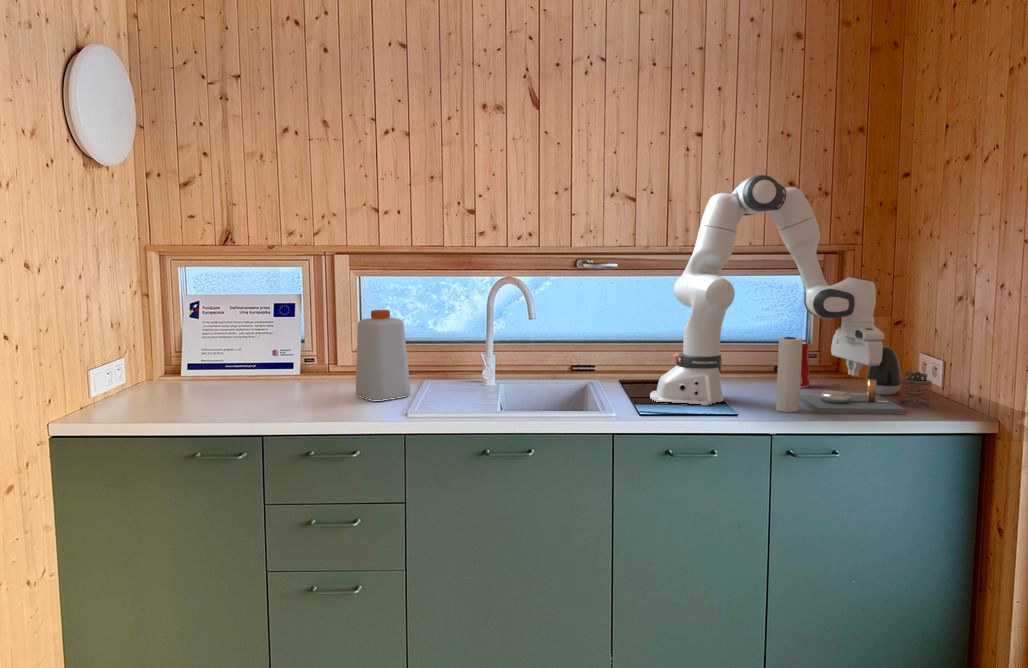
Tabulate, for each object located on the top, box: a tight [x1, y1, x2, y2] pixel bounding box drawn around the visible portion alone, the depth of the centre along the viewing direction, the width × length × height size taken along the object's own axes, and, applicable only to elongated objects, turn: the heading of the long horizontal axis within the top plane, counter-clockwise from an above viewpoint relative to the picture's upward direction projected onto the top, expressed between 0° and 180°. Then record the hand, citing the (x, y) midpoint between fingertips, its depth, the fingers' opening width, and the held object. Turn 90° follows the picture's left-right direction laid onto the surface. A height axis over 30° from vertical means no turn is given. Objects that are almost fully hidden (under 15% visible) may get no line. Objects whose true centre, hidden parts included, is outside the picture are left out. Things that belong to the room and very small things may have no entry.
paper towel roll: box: [775, 336, 804, 413], centre depth 207 cm, size 7×6×21 cm
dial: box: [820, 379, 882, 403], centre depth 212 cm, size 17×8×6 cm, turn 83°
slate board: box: [800, 393, 906, 415], centre depth 213 cm, size 24×18×2 cm
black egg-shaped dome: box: [865, 346, 903, 396], centre depth 228 cm, size 10×10×15 cm
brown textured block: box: [898, 370, 933, 408], centre depth 213 cm, size 8×3×10 cm, turn 59°
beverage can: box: [800, 341, 810, 389], centre depth 240 cm, size 6×6×15 cm
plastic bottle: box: [355, 309, 412, 400], centre depth 231 cm, size 15×15×28 cm
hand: (853, 375), depth 218 cm, fingers closed
